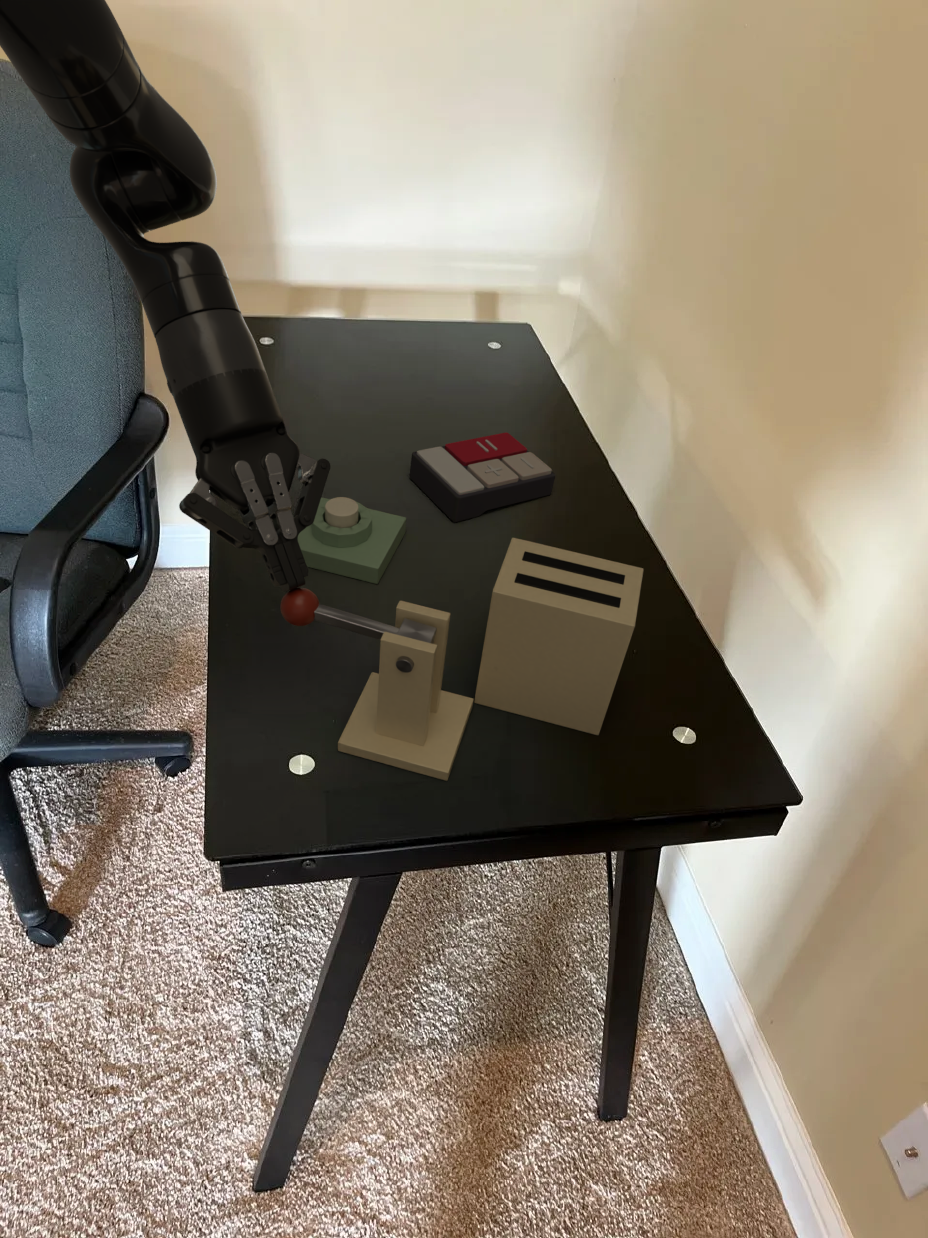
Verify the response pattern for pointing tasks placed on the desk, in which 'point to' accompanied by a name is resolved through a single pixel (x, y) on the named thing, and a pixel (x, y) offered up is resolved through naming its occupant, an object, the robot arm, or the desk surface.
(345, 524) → the button
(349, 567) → the switch block
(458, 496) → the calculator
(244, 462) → the robot arm
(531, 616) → the toaster
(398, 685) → the lever bracket
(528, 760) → the desk surface
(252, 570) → the desk surface
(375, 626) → the red-knobbed metal lever
